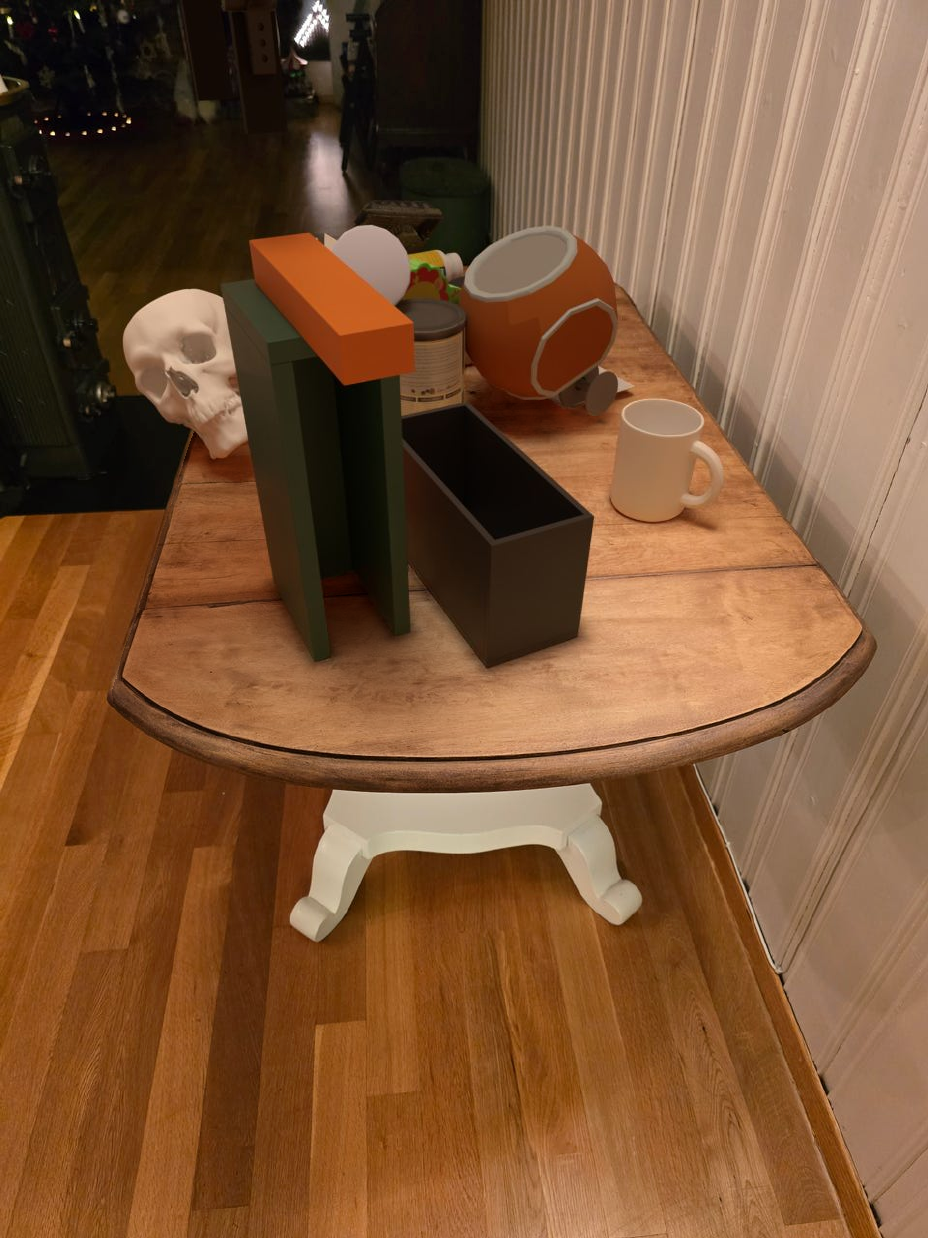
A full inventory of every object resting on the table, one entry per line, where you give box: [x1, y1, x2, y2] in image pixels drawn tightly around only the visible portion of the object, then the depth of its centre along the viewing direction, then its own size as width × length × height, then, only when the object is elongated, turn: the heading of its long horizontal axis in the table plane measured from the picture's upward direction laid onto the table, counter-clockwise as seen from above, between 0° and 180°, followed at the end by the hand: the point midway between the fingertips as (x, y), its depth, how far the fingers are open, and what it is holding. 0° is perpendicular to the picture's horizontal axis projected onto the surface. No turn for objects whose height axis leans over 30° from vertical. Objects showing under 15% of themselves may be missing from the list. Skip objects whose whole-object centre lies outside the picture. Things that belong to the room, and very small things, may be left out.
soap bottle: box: [331, 225, 411, 306], centre depth 101 cm, size 9×9×25 cm
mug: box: [609, 398, 725, 523], centre depth 86 cm, size 12×8×10 cm
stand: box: [220, 278, 412, 662], centre depth 67 cm, size 12×9×28 cm
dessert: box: [547, 365, 636, 409], centre depth 110 cm, size 12×12×5 cm
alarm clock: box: [459, 225, 619, 401], centre depth 98 cm, size 19×18×17 cm
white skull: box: [122, 288, 248, 460], centre depth 96 cm, size 14×20×19 cm
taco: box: [401, 259, 473, 365], centre depth 109 cm, size 16×6×15 cm, turn 136°
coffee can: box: [395, 298, 467, 416], centre depth 98 cm, size 10×10×14 cm
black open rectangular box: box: [402, 401, 595, 669], centre depth 75 cm, size 22×9×13 cm, turn 27°
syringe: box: [559, 365, 618, 417], centre depth 110 cm, size 7×7×30 cm
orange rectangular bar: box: [248, 232, 415, 385], centre depth 54 cm, size 19×4×3 cm, turn 26°
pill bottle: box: [408, 249, 464, 282], centre depth 136 cm, size 6×6×12 cm
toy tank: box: [353, 199, 444, 255], centre depth 134 cm, size 14×28×10 cm
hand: (239, 114), depth 59 cm, fingers open, 13 cm apart
